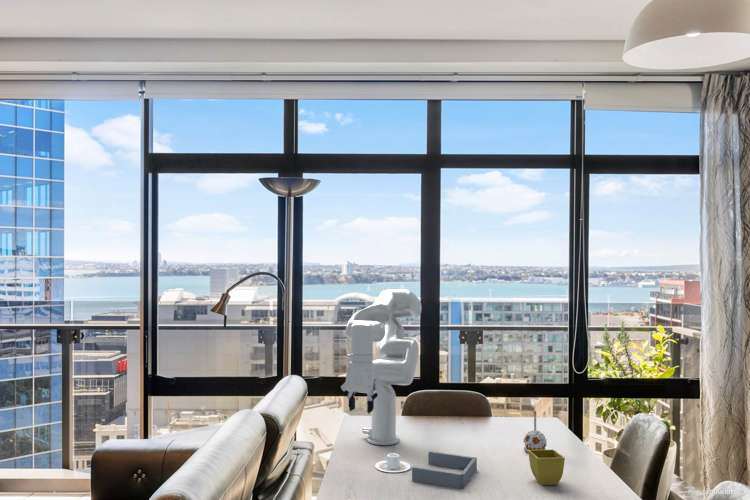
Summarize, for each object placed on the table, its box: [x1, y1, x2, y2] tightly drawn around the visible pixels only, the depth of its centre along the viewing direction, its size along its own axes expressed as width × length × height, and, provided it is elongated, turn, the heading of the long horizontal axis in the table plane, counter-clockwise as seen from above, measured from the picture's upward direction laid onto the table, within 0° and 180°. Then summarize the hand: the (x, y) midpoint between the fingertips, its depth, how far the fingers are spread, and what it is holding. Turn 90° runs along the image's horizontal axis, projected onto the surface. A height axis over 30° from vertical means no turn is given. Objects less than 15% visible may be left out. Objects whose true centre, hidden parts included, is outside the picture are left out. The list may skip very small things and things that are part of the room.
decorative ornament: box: [523, 410, 547, 453], centre depth 205 cm, size 8×8×15 cm
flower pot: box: [527, 448, 566, 486], centre depth 175 cm, size 9×9×9 cm
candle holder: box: [374, 452, 412, 473], centre depth 187 cm, size 12×12×4 cm
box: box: [411, 450, 478, 490], centre depth 180 cm, size 16×18×4 cm
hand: (361, 410), depth 193 cm, fingers open, 6 cm apart
